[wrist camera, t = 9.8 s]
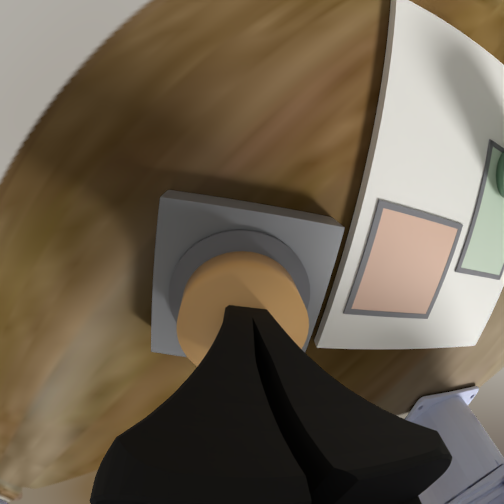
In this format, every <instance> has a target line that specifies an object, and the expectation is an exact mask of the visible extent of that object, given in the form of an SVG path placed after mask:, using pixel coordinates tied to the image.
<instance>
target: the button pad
mask: <svg viewBox="0 0 504 504" xmlns="http://www.w3.org/2000/svg"><path fill="white" fill-rule="evenodd" d="M344 229H345V227H344V226H342V225H341V224H340V223H339V222H337V221H336V220H335V219H334V218H332V217H329V216H324V215H319V214H314V213H308V212H303V211H298V210H292V209H287V208H281V207H276V206H270V205H264V204H259V203H253V202H247V201H241V200H234V199H228V198H222V197H215V196H209V195H202V194H195V193H188V192H181V191H174V190H167V191H166V192H165V193H164V194H163V195H162V196H161V197H160V202H159V212H158V221H157V232H156V244H155V257H154V272H153V292H152V323H151V352H157V353H163V354H170V355H176V356H183V357H187V356H186V355H185V353H184V352H183V350H182V348H181V346H180V344H179V341H178V337H177V319H178V314H179V310H180V306H181V301H182V297H183V293H184V289H185V286H186V284H187V282H188V280H189V278H190V277H191V275H192V274H193V273H194V272H195V270H196V269H197V268H198V267H200V266H201V265H202V264H203V263H205V262H206V261H208V260H210V259H211V258H213V257H216V256H218V255H221V254H225V253H229V252H236V251H247V252H254V253H259V254H262V255H265V256H267V257H269V258H271V259H273V260H275V261H276V262H278V263H279V264H280V265H282V266H283V267H284V268H285V269H286V270H287V272H288V273H289V274H290V276H291V277H292V279H293V281H294V283H295V285H296V287H297V290H298V292H299V294H300V296H301V298H302V300H303V303H304V305H305V307H306V310H307V313H308V318H309V330H308V335H307V339H306V341H305V344H304V346H303V347H302V350H303V351H304V352H306V349H307V346H308V343H309V341H310V338H311V335H312V332H313V329H314V326H315V324H316V321H317V318H318V315H319V312H320V309H321V306H322V303H323V300H324V296H325V293H326V290H327V287H328V284H329V281H330V277H331V274H332V271H333V268H334V264H335V261H336V257H337V254H338V251H339V247H340V244H341V240H342V236H343V233H344Z"/></svg>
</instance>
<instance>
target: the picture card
mask: <svg viewBox="0 0 504 504" xmlns="http://www.w3.org/2000/svg"><path fill="white" fill-rule="evenodd" d="M503 152H504V65H503V64H502V63H501V62H500V61H498V60H497V59H496V58H495V57H494V56H492V55H491V54H490V53H489V52H487V51H486V50H485V49H484V48H482V47H481V46H480V45H478V44H477V43H476V42H474V41H473V40H472V39H470V38H469V37H467V36H466V35H465V34H463V33H462V32H460V31H459V30H457V29H456V28H454V27H453V26H451V25H450V24H448V23H447V22H445V21H444V20H442V19H440V18H439V17H437V16H435V15H434V14H432V13H430V12H429V11H427V10H425V9H423V8H422V7H420V6H418V5H416V4H414V3H413V2H411V1H409V0H391V5H390V17H389V27H388V37H387V46H386V54H385V61H384V68H383V75H382V82H381V88H380V94H379V100H378V106H377V112H376V117H375V122H374V128H373V133H372V138H371V143H370V147H369V152H368V157H367V161H366V166H365V170H364V174H363V179H362V183H361V187H360V191H359V195H358V199H357V203H356V207H355V211H354V215H353V218H352V222H351V226H350V229H349V233H348V237H347V240H346V244H345V247H344V251H343V254H342V257H341V261H340V264H339V267H338V271H337V274H336V277H335V280H334V283H333V286H332V290H331V293H330V296H329V299H328V302H327V305H326V308H325V311H324V314H323V317H322V319H321V322H320V325H319V328H318V331H317V334H316V336H315V339H314V342H315V345H316V347H317V348H335V349H426V348H447V347H463V346H475V345H476V343H477V341H478V339H479V337H480V335H481V333H482V331H483V329H484V327H485V325H486V323H487V321H488V319H489V317H490V315H491V313H492V311H493V309H494V307H495V304H496V302H497V300H498V298H499V295H500V293H501V291H502V288H503V286H504V198H503V197H502V196H501V195H500V193H499V191H498V188H497V184H496V168H497V163H498V160H499V158H500V156H501V154H502V153H503Z"/></svg>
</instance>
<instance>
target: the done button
mask: <svg viewBox="0 0 504 504" xmlns="http://www.w3.org/2000/svg"><path fill="white" fill-rule="evenodd" d="M228 305H234V306H242V307H250V308H259V309H267V310H268V311H269V313H270V314H271V315H272V316H273V317H274V319H275V320H276V321H277V322H278V323H279V325H280V326H281V327H282V328H283V329H284V331H285V332H286V333H287V334H288V335H289V336H290V337H291V339H292V340H293V341H294V342H295V343H296V344H297V345H298V346H299V347H300V348H301V349H302V347H303V346H304V344H305V341H306V339H307V335H308V330H309V318H308V313H307V310H306V307H305V305H304V303H303V300H302V298H301V296H300V294H299V292H298V290H297V287H296V285H295V283H294V281H293V279H292V277H291V276H290V274H289V273H288V272H287V270H286V269H285V268H284V267H283V266H282V265H280V264H279V263H278V262H276V261H275V260H273V259H271V258H269V257H267V256H265V255H262V254H259V253H254V252H247V251H236V252H229V253H225V254H221V255H218V256H216V257H213V258H211V259H210V260H208V261H206V262H205V263H203V264H202V265H201V266H200V267H198V268H197V269H196V270H195V272H194V273H193V274H192V275H191V277H190V278H189V280H188V282H187V284H186V286H185V289H184V293H183V297H182V301H181V306H180V310H179V314H178V319H177V337H178V341H179V344H180V346H181V348H182V350H183V352H184V353H185V355H186V356H187V357H188V358H189V360H190V361H191V362H192V363H194V364H195V365H196V366H197V367H198V365H199V364H200V362H201V361H202V360H203V358H204V357H205V355H206V354H207V352H208V350H209V349H210V347H211V345H212V344H213V342H214V340H215V338H216V336H217V334H218V332H219V330H220V328H221V326H222V323H223V318H224V312H225V307H227V306H228Z"/></svg>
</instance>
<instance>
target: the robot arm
mask: <svg viewBox="0 0 504 504" xmlns="http://www.w3.org/2000/svg"><path fill="white" fill-rule="evenodd" d="M478 391H479V388H478V387H477V386H474V387H469V388H465V389H460V390H455V391H450V392H445V393H440V394H434V395H428V396H423V397H421V398H420V399H419V400H418V401H417V402H416V404H415V405H414V407H413V408H412V409H411V411H410V412H409V414H408V415H407V417H406V418H405V419H402V418H400V417H398V416H396V415H394V414H392V413H389V412H387V411H385V410H383V409H381V408H379V407H377V406H376V405H374V404H372V403H370V402H368V401H367V400H365V399H363V398H362V397H360V396H359V395H357V394H355V393H354V392H352V391H351V390H349V389H348V388H346V387H345V386H343V385H342V384H341V383H339V382H338V381H337V380H336V379H334V378H333V377H332V376H330V375H329V374H328V373H327V372H325V371H324V370H323V369H322V368H321V367H319V366H318V365H317V364H316V363H315V362H314V361H313V360H312V359H311V358H310V357H309V356H308V355H307V354H306V353H305V352H304V351H303V350H302V349H301V348H300V347H299V346H298V345H297V344H296V343H295V342H294V341H293V340H292V339H291V337H290V336H289V335H288V334H287V333H286V332H285V331H284V329H283V328H282V327H281V326H280V325H279V323H278V322H277V321H276V320H275V319H274V317H273V316H272V315H271V314H270V313H269V311H268V310H267V309H259V308H250V307H242V306H234V305H228V306H227V307H225V312H224V318H223V323H222V326H221V328H220V330H219V332H218V334H217V336H216V338H215V340H214V342H213V344H212V345H211V347H210V349H209V350H208V352H207V354H206V355H205V357H204V358H203V360H202V361H201V362H200V364H199V365H198V367H197V368H196V369H195V370H194V372H193V373H192V374H191V375H190V376H189V378H188V379H187V380H186V381H185V382H184V383H183V384H182V385H181V386H180V388H179V389H178V390H177V391H176V392H175V393H174V394H173V395H172V396H171V397H169V398H168V399H167V400H166V401H165V402H164V403H163V404H161V405H160V406H159V407H158V408H157V409H156V410H154V411H153V412H152V413H151V414H150V415H148V416H147V417H146V418H144V419H143V420H141V421H140V422H138V423H137V424H136V425H134V426H133V427H131V428H130V429H128V430H127V431H125V432H124V433H122V434H121V435H119V436H118V437H116V439H115V440H114V442H113V443H112V445H111V446H110V448H109V450H108V451H107V453H106V455H105V457H104V458H103V460H102V462H101V464H100V467H99V469H98V471H97V474H96V477H95V481H94V485H93V489H92V493H91V498H90V503H91V504H504V458H503V456H502V454H501V453H500V452H499V450H498V448H497V447H496V445H495V444H494V442H493V441H492V439H491V438H490V436H489V435H488V433H487V432H486V430H485V429H484V428H483V426H482V425H481V423H480V422H479V421H478V419H477V418H476V416H475V415H474V414H473V412H472V411H471V409H470V408H469V407H468V405H469V403H470V402H471V401H472V399H473V398H474V396H475V395H476V394H477V392H478ZM0 504H8V503H7V502H5V501H3V500H1V499H0Z"/></svg>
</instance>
